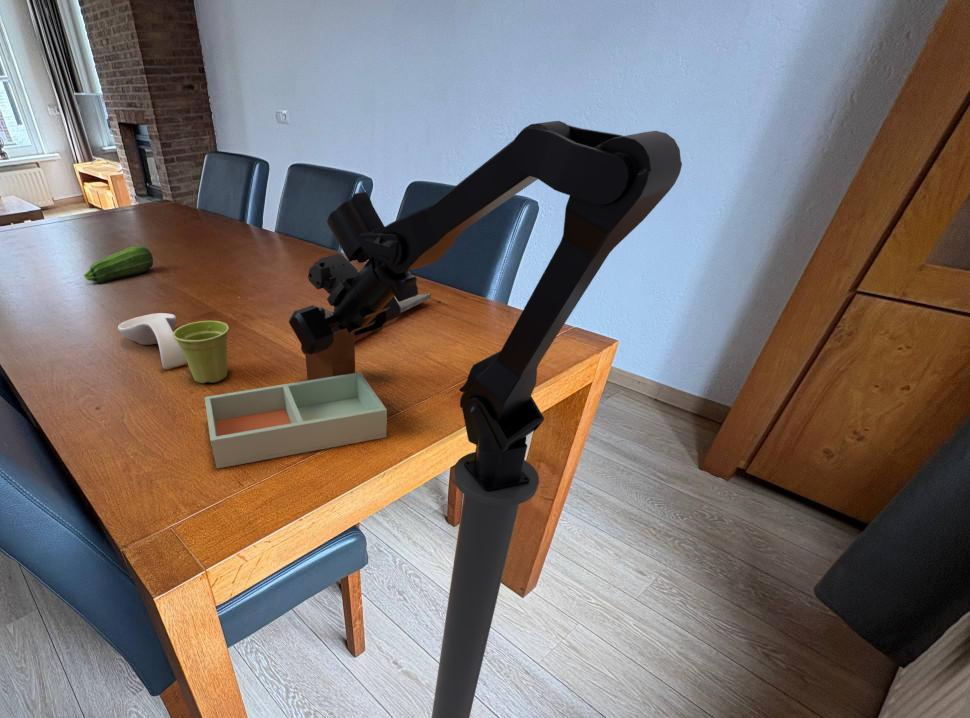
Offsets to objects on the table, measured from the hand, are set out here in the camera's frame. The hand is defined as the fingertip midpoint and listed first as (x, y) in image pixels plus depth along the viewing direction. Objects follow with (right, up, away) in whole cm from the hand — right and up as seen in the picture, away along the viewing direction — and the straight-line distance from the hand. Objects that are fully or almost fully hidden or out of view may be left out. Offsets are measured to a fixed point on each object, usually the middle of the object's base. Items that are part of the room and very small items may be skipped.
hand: (324, 343), depth 84 cm
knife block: (+1, -6, +3) cm, 7 cm away
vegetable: (-60, +35, +62) cm, 93 cm away
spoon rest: (-34, +4, +19) cm, 39 cm away
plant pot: (-21, -4, +8) cm, 23 cm away
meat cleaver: (+9, +11, +26) cm, 29 cm away
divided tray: (-4, -15, -8) cm, 18 cm away
